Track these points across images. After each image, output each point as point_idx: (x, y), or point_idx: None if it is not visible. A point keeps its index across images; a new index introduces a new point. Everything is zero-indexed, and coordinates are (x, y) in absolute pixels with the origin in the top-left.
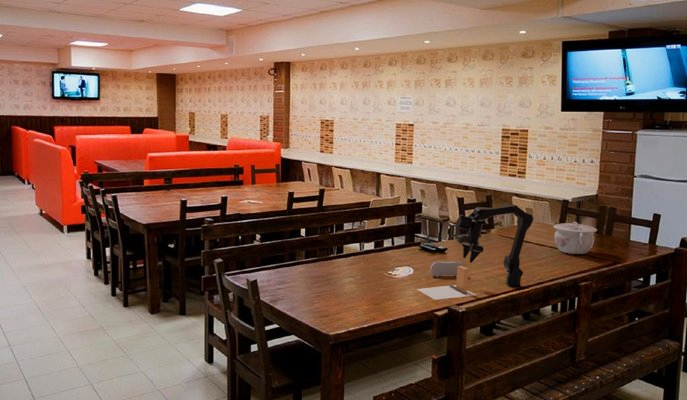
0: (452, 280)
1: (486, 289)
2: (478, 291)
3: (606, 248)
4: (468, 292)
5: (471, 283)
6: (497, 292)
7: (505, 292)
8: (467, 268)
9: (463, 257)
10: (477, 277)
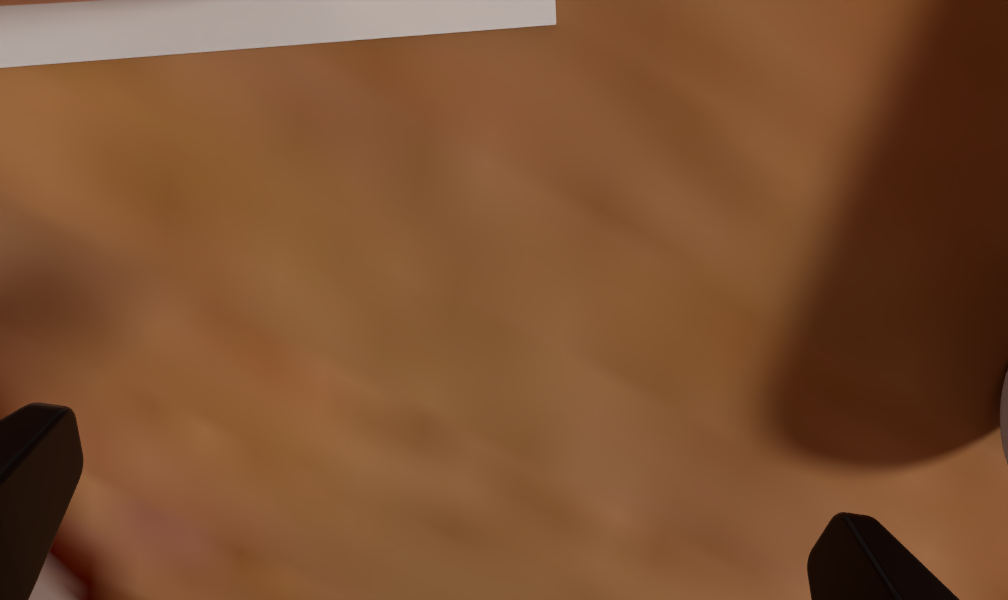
0: (875, 132)
1: (247, 423)
2: (150, 249)
3: None
4: (35, 4)
5: (600, 364)
6: (82, 496)
7: (78, 590)
8: None
9: (846, 518)
10: None
